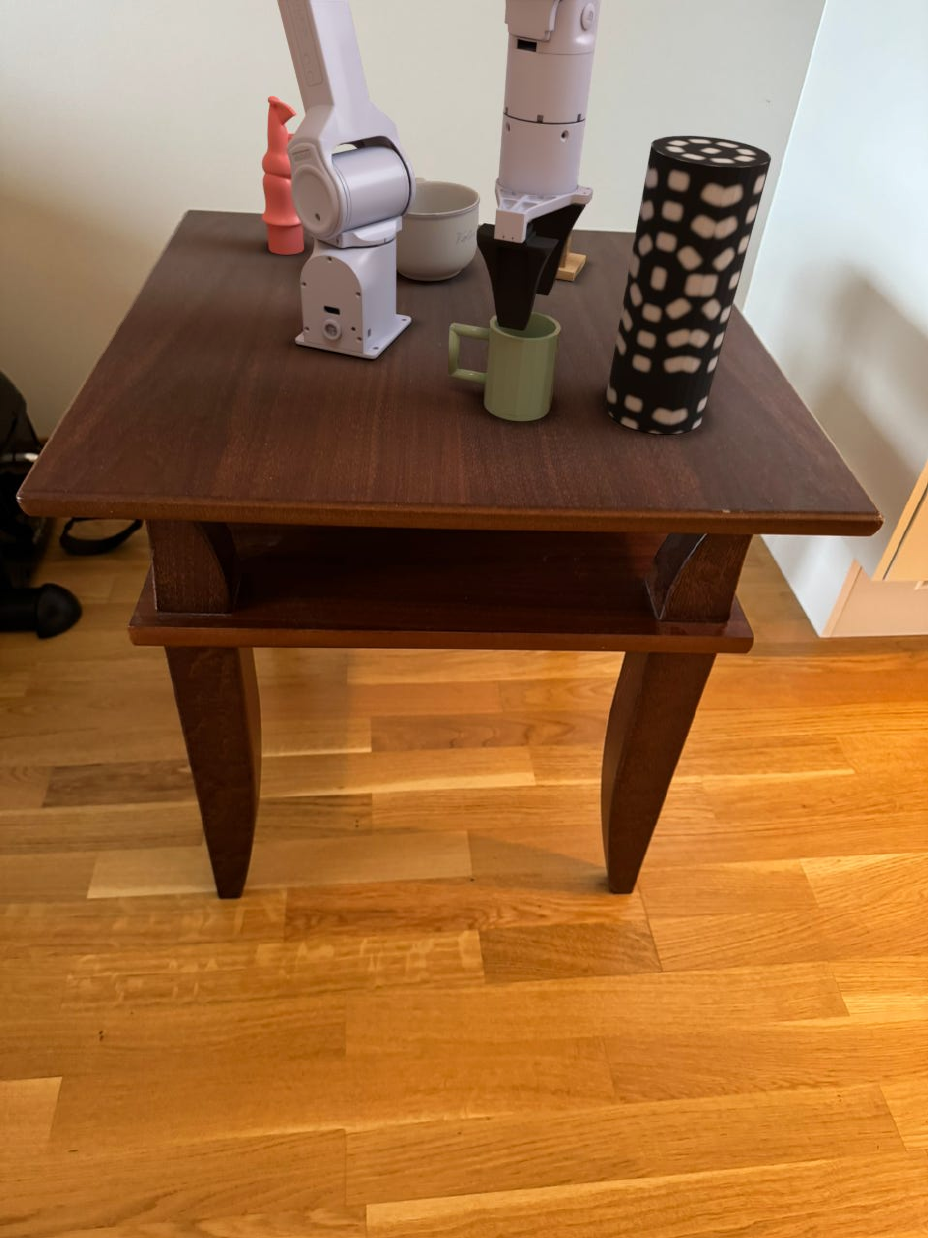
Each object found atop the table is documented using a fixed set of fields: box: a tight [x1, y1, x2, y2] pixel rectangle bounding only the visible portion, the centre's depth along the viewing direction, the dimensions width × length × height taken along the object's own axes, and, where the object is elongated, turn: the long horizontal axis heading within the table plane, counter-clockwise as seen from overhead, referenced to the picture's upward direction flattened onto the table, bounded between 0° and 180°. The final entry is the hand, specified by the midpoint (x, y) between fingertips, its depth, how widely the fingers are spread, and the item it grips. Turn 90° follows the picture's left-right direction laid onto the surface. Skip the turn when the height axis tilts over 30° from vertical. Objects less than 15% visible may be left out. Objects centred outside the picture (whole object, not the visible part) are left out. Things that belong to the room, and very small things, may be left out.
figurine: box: [261, 95, 305, 256], centre depth 93 cm, size 5×5×15 cm
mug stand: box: [555, 230, 587, 282], centre depth 93 cm, size 12×6×8 cm, turn 162°
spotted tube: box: [604, 135, 772, 435], centre depth 67 cm, size 8×8×20 cm
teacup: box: [396, 177, 481, 282], centre depth 94 cm, size 14×11×8 cm
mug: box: [447, 311, 562, 422], centre depth 71 cm, size 9×6×7 cm, turn 72°
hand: (525, 309), depth 69 cm, fingers open, 7 cm apart
